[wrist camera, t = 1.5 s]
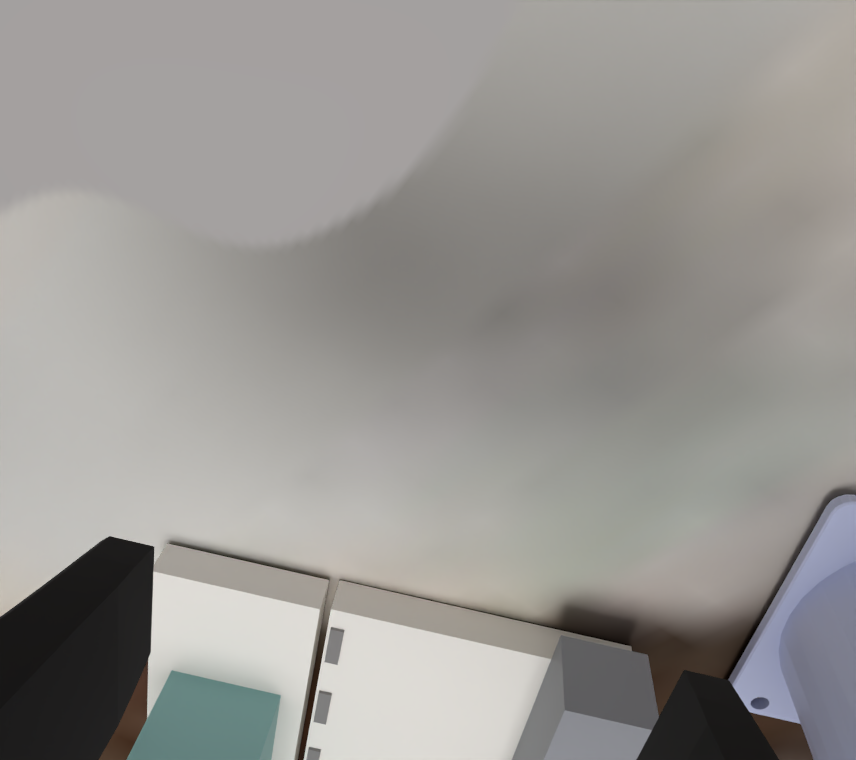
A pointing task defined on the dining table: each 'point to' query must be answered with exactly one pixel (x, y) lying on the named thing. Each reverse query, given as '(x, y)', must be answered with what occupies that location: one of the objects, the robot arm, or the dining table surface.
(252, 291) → the dining table surface
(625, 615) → the dining table surface
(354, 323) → the dining table surface
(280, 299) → the dining table surface
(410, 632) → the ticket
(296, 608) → the stub
